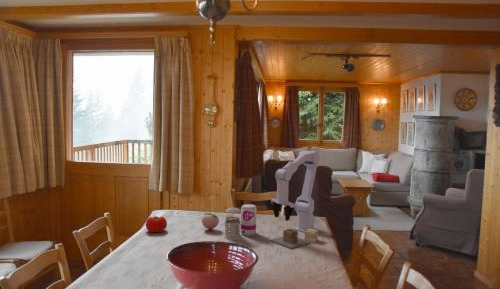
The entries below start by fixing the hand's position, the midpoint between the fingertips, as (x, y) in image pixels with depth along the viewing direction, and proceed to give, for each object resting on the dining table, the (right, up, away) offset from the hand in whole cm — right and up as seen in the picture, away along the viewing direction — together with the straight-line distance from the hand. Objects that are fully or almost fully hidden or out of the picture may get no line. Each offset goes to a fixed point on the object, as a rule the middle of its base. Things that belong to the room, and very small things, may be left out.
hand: (281, 218), depth 192 cm
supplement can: (-17, -9, +6) cm, 20 cm away
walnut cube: (+4, -10, -7) cm, 12 cm away
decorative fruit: (-38, -9, +10) cm, 41 cm away
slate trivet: (+4, -10, -7) cm, 13 cm away
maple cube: (+15, -11, -3) cm, 18 cm away
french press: (-26, -10, -1) cm, 28 cm away
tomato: (-66, -8, +6) cm, 67 cm away
